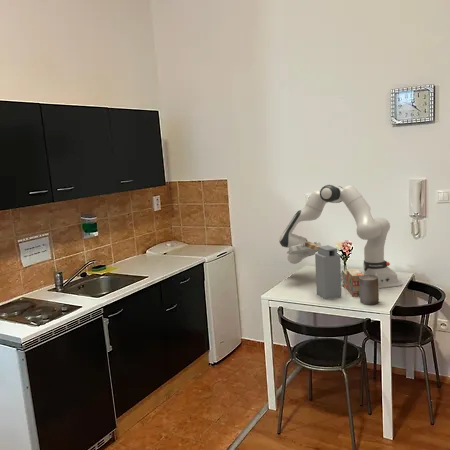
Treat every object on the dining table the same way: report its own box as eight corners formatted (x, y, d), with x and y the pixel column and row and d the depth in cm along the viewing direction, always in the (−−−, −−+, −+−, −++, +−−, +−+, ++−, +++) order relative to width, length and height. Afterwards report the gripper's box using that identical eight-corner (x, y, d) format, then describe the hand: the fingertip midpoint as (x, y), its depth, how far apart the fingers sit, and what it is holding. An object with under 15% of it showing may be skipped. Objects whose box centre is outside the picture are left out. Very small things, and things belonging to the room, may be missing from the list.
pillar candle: (379, 299, 242) (378, 272, 240) (378, 305, 233) (377, 277, 231) (360, 298, 246) (359, 272, 243) (359, 304, 237) (358, 277, 234)
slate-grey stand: (316, 294, 257) (314, 247, 252) (332, 291, 260) (330, 244, 255) (325, 299, 247) (323, 250, 243) (341, 296, 250) (340, 248, 246)
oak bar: (304, 246, 273) (304, 242, 272) (308, 245, 274) (308, 241, 273) (322, 253, 252) (322, 248, 252) (327, 252, 253) (326, 248, 252)
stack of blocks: (342, 285, 271) (342, 265, 269) (353, 284, 270) (352, 264, 268) (352, 296, 249) (352, 275, 247) (364, 296, 249) (363, 274, 247)
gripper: (284, 249, 280) (292, 241, 268) (314, 244, 286) (323, 237, 273) (287, 258, 278) (295, 251, 266) (317, 254, 284) (326, 247, 271)
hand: (309, 244), depth 269 cm, fingers open, 7 cm apart
